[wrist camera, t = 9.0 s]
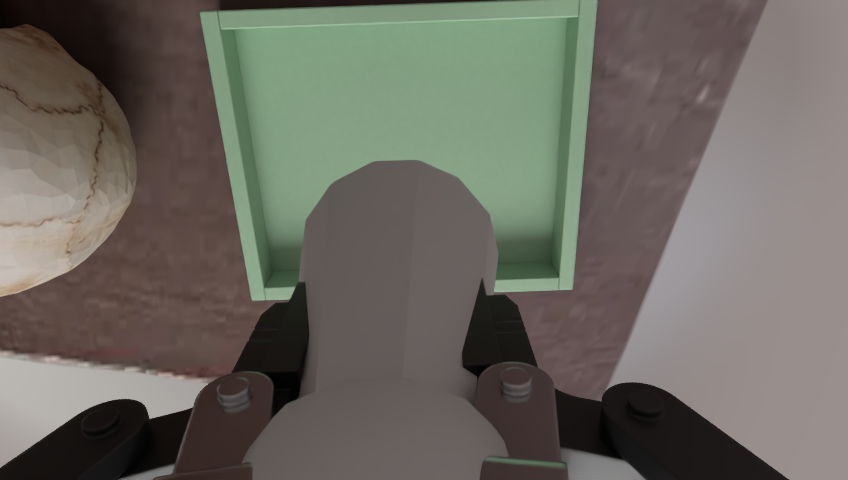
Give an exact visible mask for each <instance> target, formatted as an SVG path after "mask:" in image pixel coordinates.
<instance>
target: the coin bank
mask: <svg viewBox="0 0 848 480" xmlns="http://www.w3.org/2000/svg"><path fill="white" fill-rule="evenodd" d="M136 180H137V160H136V149H135V146H134V143H133V139H132V136H131V129H130V126H129V123H128V121H127V119H126V117H125V115H124V113H123V112H122V110H121V108H120V107H119V105H118V103H117V102H116V100H115V98H114V97H113V95H112V94H111V93H110V92H109V91H108V90H107V89H106V87H105V86H104V85H103V84H102V83H101V82H100V81H99V80H98V79H97V78H96V76H95V75H94V74H93V73H92V72H90V71H89V70H87V69H86V68H84V67H83V66H81V65H80V64H78V63H77V62H76V61H75V60H74V59H72V57H71V56H70V55H69V54H68V53H67V52H66V51H65V49H64V48H63V47H62V46H61V45H60V44H59V43H58V42H57V41H56V40H55V39H54V38H53V37H52V36H51V35H50V34H49V33H47V32H44V31H42V30H40V29H38V28H35V27H33V26H31V25H28V24H24V25H20V26H17V27H14V28H6V29H0V297H1V296H6V295H10V294H14V293H19V292H21V291H24V290H27V289H29V288H32V287H34V286H37V285H39V284H42V283H44V282H46V281H48V280H51V279H53V278H55V277H57V276H59V275H61V274H64V273H66V272H68V271H70V270H72V269H73V268H75V267H76V266H77V265H79V264H80V263H81V262H83V261H84V260H85V259H86V258H87V257H89V256H90V255H91V254H92V253H93V252H94V251H95V250H96V249H97V248H98V247H99V246H100V245H101V244H102V243H103V242H104V241H105V240H106V239H107V237H108V236H109V235H110V234H111V233H112V232H113V230H114V229H115V227H116V225H117V223H118V222H119V220H120V219H121V217H122V216H123V214H124V212H125V210H126V209H127V207H128V206H129V205H130V202H131V199H132V196H133V192H134V189H135V186H136Z"/></svg>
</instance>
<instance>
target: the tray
mask: <svg viewBox="0 0 848 480" xmlns="http://www.w3.org/2000/svg"><path fill="white" fill-rule="evenodd" d="M597 3H598V0H497V1H468V2H440V3H412V4H384V5H356V6H328V7H300V8H272V9H244V10H215V11H200V18H201V23H202V29H203V34H204V40H205V45H206V51H207V56H208V62H209V67H210V73H211V78H212V84H213V89H214V95H215V100H216V106H217V111H218V117H219V122H220V128H221V133H222V139H223V145H224V150H225V156H226V161H227V167H228V172H229V178H230V183H231V189H232V194H233V200H234V205H235V211H236V216H237V222H238V227H239V233H240V238H241V244H242V249H243V255H244V260H245V266H246V271H247V277H248V282H249V288H250V293H251V299H252V300H284V299H290V298H291V296H292V294H293V292H294V289H295V287H296V285H297V283H298V282H299V273H300V259H301V252H302V245H303V237H304V230H305V222H306V219H307V217H308V216H309V215H310V213H311V212H312V210H313V209H314V207H315V206H316V205H317V203H318V202H319V200H320V199H321V197H322V196H323V194H324V193H325V192H326V190H327V189H328V187H329V186H330V185H331V184H332V183H333V182H334V181H336V180H338V179H340V178H342V177H344V176H346V175H348V174H350V173H352V172H354V171H356V170H358V169H360V168H361V167H363V166H365V165H367V164H369V163H371V162H373V161H396V160H420V161H422V162H424V163H427V164H429V165H431V166H433V167H436V168H438V169H440V170H443V171H445V172H447V173H450V174H452V175H454V176H456V177H458V178H459V179H460V180H461V181H462V182H463V183H464V185H465V186H466V187H467V188H468V189H469V190H470V192H471V193H472V194H473V195H474V196H475V197H476V199H477V200H478V201H479V202H480V203H481V204H482V206H483V207H484V208H485V209H486V210H487V212H488V213H489V214H490V217H491V221H492V226H493V231H494V235H495V240H496V245H497V249H498V254H499V255H498V263H497V271H496V279H495V287H494V292H518V291H547V290H558V289H559V290H572V289H573V281H574V269H575V258H576V246H577V234H578V223H579V211H580V200H581V188H582V176H583V165H584V153H585V142H586V130H587V118H588V107H589V95H590V84H591V72H592V61H593V49H594V37H595V26H596V14H597Z"/></svg>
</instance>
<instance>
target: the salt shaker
mask: <svg viewBox="0 0 848 480" xmlns="http://www.w3.org/2000/svg"><path fill="white" fill-rule="evenodd" d="M498 255H499V254H498V249H497V245H496V240H495V235H494V231H493V226H492V221H491V217H490V214H489V213H488V212H487V210H486V209H485V208H484V207H483V206H482V204H481V203H480V202H479V201H478V200H477V199H476V197H475V196H474V195H473V194H472V193H471V192H470V190H469V189H468V188H467V187H466V186H465V185H464V183H463V182H462V181H461V180H460V179H459V178H458V177H456V176H454V175H452V174H450V173H447V172H445V171H443V170H440V169H438V168H436V167H433V166H431V165H429V164H427V163H424V162H422V161H420V160H396V161H373V162H371V163H369V164H367V165H365V166H363V167H361V168H360V169H358V170H356V171H354V172H352V173H350V174H348V175H346V176H344V177H342V178H340V179H338V180H336V181H334V182H333V183H332V184H331V185H330V186H329V187H328V189H327V190H326V192H325V193H324V194H323V196H322V197H321V199H320V200H319V202H318V203H317V205H316V206H315V207H314V209H313V210H312V212H311V213H310V215H309V216H308V217H307V219H306V222H305V230H304V237H303V245H302V252H301V259H300V273H299V282H305V285H306V297H307V309H308V322H309V334H310V335H309V340H308V345H307V350H306V356H305V361H304V366H303V372H302V377H301V387H300V394H299V396H298V398H297V400H294V401H292V402H290V403H287V404H286V405H285V406H284V407H283V408H282V409H281V410H280V411H279V412H278V413H277V414H276V415H275V416H274V417H273V418H272V420H271V421H270V422H269V423H268V425H267V426H266V427H265V429H264V430H263V431H262V432H261V434H260V435H259V436H258V437H257V439H256V440H255V441H254V443H253V444H252V445H251V446H250V448H249V449H248V450H247V452H246V454H245V457H244V459H243V461H242V463H245V462H250V463H251V464H252V467H253V476H252V480H479V479H480V472H481V466H482V462H483V461H484V459H485V458H486V457H487V456H490V455H492V456H504V457H509V456H508V452H507V449H506V445H505V442H504V440H503V439H502V437H501V436H500V435H499V433H498V432H497V431H496V429H495V428H494V427H493V425H492V424H491V423H490V422H489V421H488V420H487V419H486V418H485V417H484V416H482V415H481V414H480V413H479V412H478V411H477V410H476V409H475V403H476V392H477V376H475V375H474V374H472V373H471V372H469V371H468V370H466V369H464V368H463V360H462V350H463V346H464V342H465V339H466V335H467V331H468V327H469V324H470V320H471V316H472V312H473V309H474V305H475V301H476V298H477V294H478V290H479V286H480V283H481V279H482V278H483V282H484V286H485V291H486V295H494V287H495V279H496V271H497V263H498Z"/></svg>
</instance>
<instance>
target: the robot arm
mask: <svg viewBox="0 0 848 480" xmlns="http://www.w3.org/2000/svg"><path fill="white" fill-rule="evenodd" d="M309 335H310V334H309V322H308V309H307V297H306V285H305V282H298V283H297V285H296V287H295V289H294V292H293V294H292V296H291V298H290V301H289V302H285V303H275V304H274V305H273V306H272V307H270V308H269V309H268V310H267V311H265V312H264V313H263V314H262V315H261V317H260V319H259V321H258V322H257V324H256V326H255V330H253V332H252V334H251V336H250V338H249V341H248V342H247V344H246V346H245V348H244V350H243V352H242V354H241V355H240V357H239V359H238V361H237V363H236V365H235V367H234V369H233V371H232V373H231V374H227V375H225V376H222V377H220V378H218V379H216V380H214V381H212V382H211V383H209V384H208V385H207V386H205V387H204V388H203V389H202V390H201V391H200V393H199V394H198V396H197V398H196V400H195V403H194V406H193V408H190V409H187V410H184V411H180V412H176V413H172V414H168V415H165V416H160V417H156V418H152V419H149V415H148V412H147V409H146V407H145V405H143V404H142V403H141V402H138V401H136V400H131V399H119V400H112V401H108V402H105V403H101V404H98V405H96V406H93V407H91V408H89V409H87V410H85V411H83V412H81V413H80V414H78V415H77V416H75V417H74V418H72V419H71V420H69V421H68V422H66V423H65V424H64V425H62V426H60V427H59V428H58V429H56V430H55V431H53V432H52V433H50V434H49V435H47V436H46V437H44V438H43V439H42V440H40V441H39V442H37V443H36V444H34V445H33V446H31V447H30V448H28V449H27V450H26V451H24V452H23V453H21V454H20V455H18V456H17V457H15V458H14V459H12V460H11V461H10V462H8V463H7V464H6V465H4V466H2V467H1V468H0V480H252V476H253V467H252V464H251V463H250V462H245V463H242V461H243V459H244V457H245V454H246V452H247V450H248V449H249V448H250V446H251V445H252V444H253V443H254V441H255V440H256V439H257V437H258V436H259V435H260V434H261V432H262V431H263V430H264V429H265V427H266V426H267V425H268V423H269V422H270V421H271V420H272V418H273V417H274V416H275V415H276V414H277V413H278V412H279V411H280V410H281V409H282V408H283V407H284V406H285V405H286V404H287V403H290V402H292V401H294V400H297V398H298V396H299V394H300V387H301V377H302V372H303V366H304V361H305V356H306V350H307V345H308V340H309ZM462 360H463V368H464V369H466V370H468V371H469V372H471V373H472V374H474V375H475V376H477V392H476V403H475V409H476V410H477V411H478V412H479V413H480V414H481V415H482V416H484V417H485V418H486V419H487V420H488V421H489V422H490V423H491V424H492V425H493V427H494V428H495V429H496V431H497V432H498V433H499V435H500V436H501V437H502V439H503V440H504V442H505V445H506V449H507V452H508V456H509V457H504V456H492V455H490V456H487V457H486V458H485V459H484V461H483V462H482V466H481V472H480V479H479V480H789V479H787V478H786V477H784V476H783V475H782V474H780V473H779V472H778V471H776V470H775V469H774V468H772V467H771V466H769V465H768V464H767V463H765V462H764V461H763V460H761V459H760V458H758V457H757V456H755V455H754V454H753V453H752V452H750V451H749V450H747V449H746V448H745V447H743V446H742V445H740V444H739V443H738V442H736V441H735V440H734V439H732V438H731V437H730V436H728V435H727V434H726V433H724V432H723V431H721V430H720V429H718V428H717V427H716V426H715V425H713V424H712V423H710V422H709V421H708V420H706V419H705V418H703V417H702V416H701V415H699V414H698V413H697V412H695V411H694V410H693V409H691V408H690V407H688V406H687V405H686V404H684V403H683V402H682V401H680V400H679V399H677V398H676V397H675V396H673V395H672V394H670V393H668V392H667V391H665V390H663V389H660V388H658V387H655V386H652V385H648V384H643V383H633V382H632V383H621V384H617V385H614V386H612V387H610V388H609V389H608V390H606V392H605V393H604V394H603V397H602V402H601V401H595V400H590V399H585V398H579V397H575V396H572V395H569V394H566V393H563V392H561V391H559V390H557V389H556V388H554V383H553V381H552V379H551V378H550V377H549V375H548V374H547V373H545V372H544V371H543V370H541V369H540V368H538V366H537V363H536V360H535V357H534V354H533V351H532V348H531V345H530V342H529V339H528V336H527V333H526V332H525V327H524V324H523V321H522V318H521V315H520V312H519V309H518V306H517V305H516V304H515V303H514V302H513V301H512V300H510V299H509V298H508V297H507V296H506V295H486V291H485V286H484V282H483V278H482V279H481V283H480V286H479V290H478V294H477V298H476V301H475V305H474V309H473V312H472V316H471V320H470V324H469V327H468V331H467V335H466V339H465V342H464V346H463V350H462Z"/></svg>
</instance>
